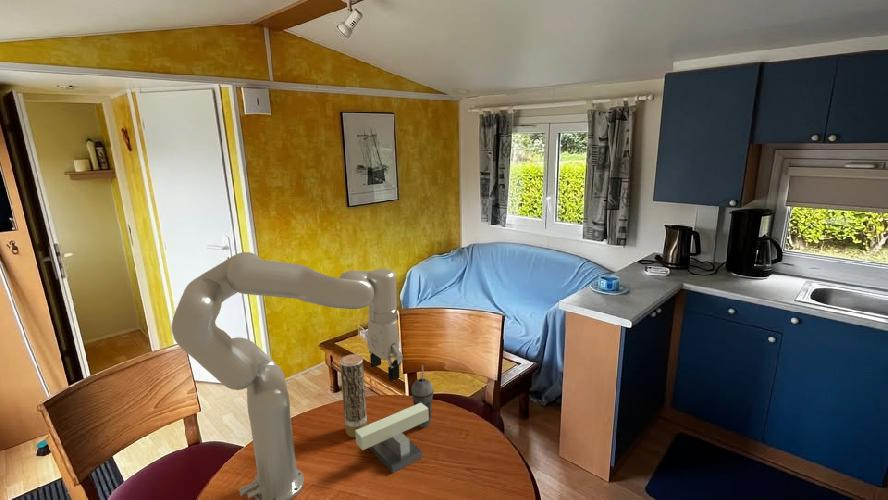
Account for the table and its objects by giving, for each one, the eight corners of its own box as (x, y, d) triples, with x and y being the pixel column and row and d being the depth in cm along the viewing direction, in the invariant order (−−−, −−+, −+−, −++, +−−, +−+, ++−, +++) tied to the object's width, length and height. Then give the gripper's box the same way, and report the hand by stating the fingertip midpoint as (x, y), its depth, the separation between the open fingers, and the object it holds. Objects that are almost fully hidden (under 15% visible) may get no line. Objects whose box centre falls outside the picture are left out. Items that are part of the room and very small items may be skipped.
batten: (362, 450, 120) (361, 437, 119) (356, 442, 123) (355, 430, 122) (428, 420, 133) (428, 408, 132) (421, 414, 136) (420, 402, 135)
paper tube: (370, 425, 142) (365, 354, 137) (364, 439, 136) (358, 365, 130) (349, 424, 143) (343, 354, 137) (342, 438, 136) (336, 364, 131)
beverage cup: (408, 428, 141) (406, 371, 136) (416, 415, 147) (414, 360, 143) (430, 431, 138) (428, 374, 134) (437, 418, 145) (435, 363, 141)
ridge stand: (392, 473, 121) (391, 451, 120) (367, 447, 132) (366, 426, 130) (422, 457, 127) (421, 436, 126) (396, 433, 138) (395, 413, 136)
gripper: (355, 309, 124) (358, 364, 128) (387, 327, 111) (389, 389, 114) (379, 303, 128) (380, 357, 132) (412, 321, 115) (413, 380, 119)
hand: (384, 372), depth 123 cm, fingers open, 9 cm apart
